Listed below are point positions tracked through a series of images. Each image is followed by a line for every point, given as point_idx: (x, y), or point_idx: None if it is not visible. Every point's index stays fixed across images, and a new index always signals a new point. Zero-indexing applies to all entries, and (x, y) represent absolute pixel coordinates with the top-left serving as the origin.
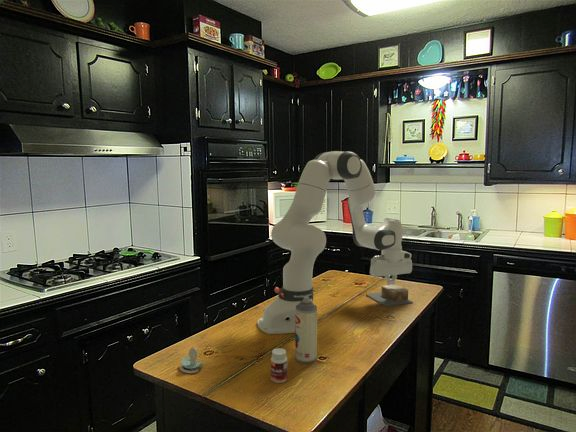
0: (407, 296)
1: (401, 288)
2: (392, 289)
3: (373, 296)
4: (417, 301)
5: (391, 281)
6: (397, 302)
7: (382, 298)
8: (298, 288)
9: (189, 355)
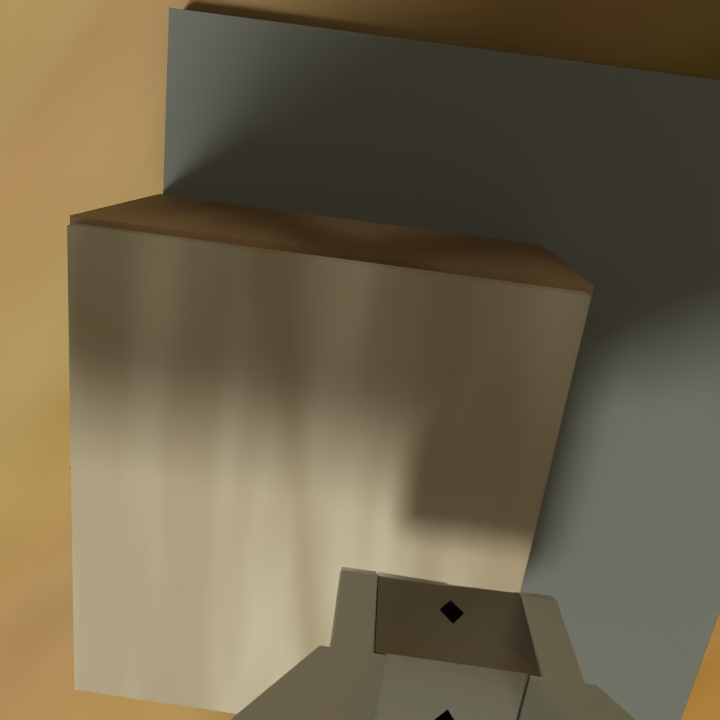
0: (154, 201)
1: (164, 407)
2: (453, 454)
3: (653, 616)
4: (20, 48)
5: (476, 652)
6: (516, 130)
7: (597, 464)
8: None
9: None
